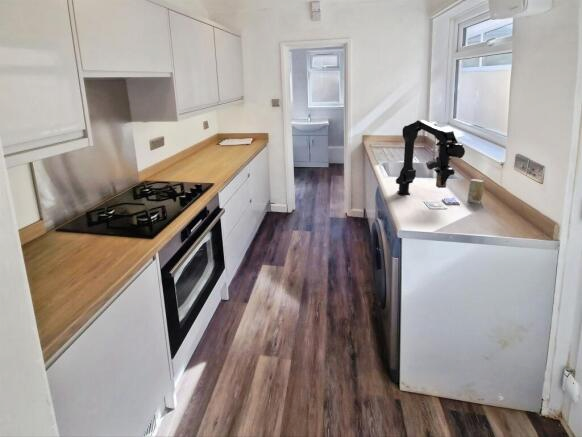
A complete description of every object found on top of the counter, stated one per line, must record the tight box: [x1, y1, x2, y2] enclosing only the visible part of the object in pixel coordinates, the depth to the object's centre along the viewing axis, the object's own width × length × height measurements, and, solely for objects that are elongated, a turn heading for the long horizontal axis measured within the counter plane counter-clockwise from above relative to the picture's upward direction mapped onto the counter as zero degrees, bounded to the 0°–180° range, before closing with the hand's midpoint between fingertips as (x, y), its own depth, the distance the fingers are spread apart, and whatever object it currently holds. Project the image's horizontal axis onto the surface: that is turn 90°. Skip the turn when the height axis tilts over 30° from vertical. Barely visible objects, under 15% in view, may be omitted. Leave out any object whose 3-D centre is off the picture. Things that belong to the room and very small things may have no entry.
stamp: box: [435, 174, 448, 189], centre depth 220 cm, size 4×4×6 cm
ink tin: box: [441, 197, 461, 206], centre depth 228 cm, size 9×7×1 cm
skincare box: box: [467, 178, 485, 204], centre depth 226 cm, size 6×4×12 cm
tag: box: [423, 201, 448, 210], centre depth 223 cm, size 12×9×1 cm
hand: (440, 184), depth 220 cm, fingers closed on stamp, 4 cm apart
